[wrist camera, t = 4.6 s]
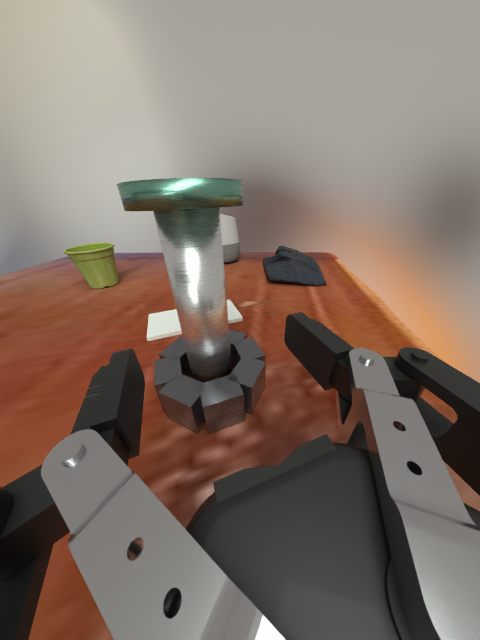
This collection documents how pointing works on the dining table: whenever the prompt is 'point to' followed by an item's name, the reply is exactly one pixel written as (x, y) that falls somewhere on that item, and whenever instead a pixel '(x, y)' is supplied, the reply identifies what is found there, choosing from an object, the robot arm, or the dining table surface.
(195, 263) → the green topped metal post
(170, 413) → the eye ring
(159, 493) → the dining table surface
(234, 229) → the smart speaker
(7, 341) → the dining table surface
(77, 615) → the dining table surface
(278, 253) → the folded dark garment
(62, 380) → the dining table surface
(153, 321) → the mat
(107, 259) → the plant pot
